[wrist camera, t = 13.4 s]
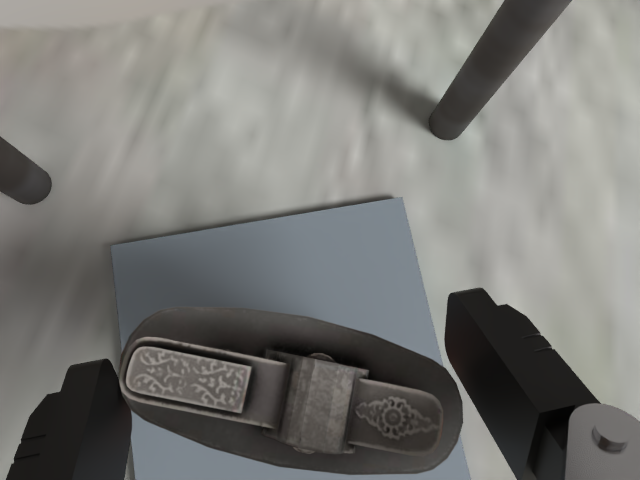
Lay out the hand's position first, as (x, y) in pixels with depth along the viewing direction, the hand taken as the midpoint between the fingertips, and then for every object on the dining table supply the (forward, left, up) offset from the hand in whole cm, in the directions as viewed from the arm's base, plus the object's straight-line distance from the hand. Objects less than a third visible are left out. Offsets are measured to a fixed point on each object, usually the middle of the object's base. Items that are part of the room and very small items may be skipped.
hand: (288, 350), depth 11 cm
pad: (0, +1, -8) cm, 8 cm away
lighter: (0, +1, -8) cm, 8 cm away
